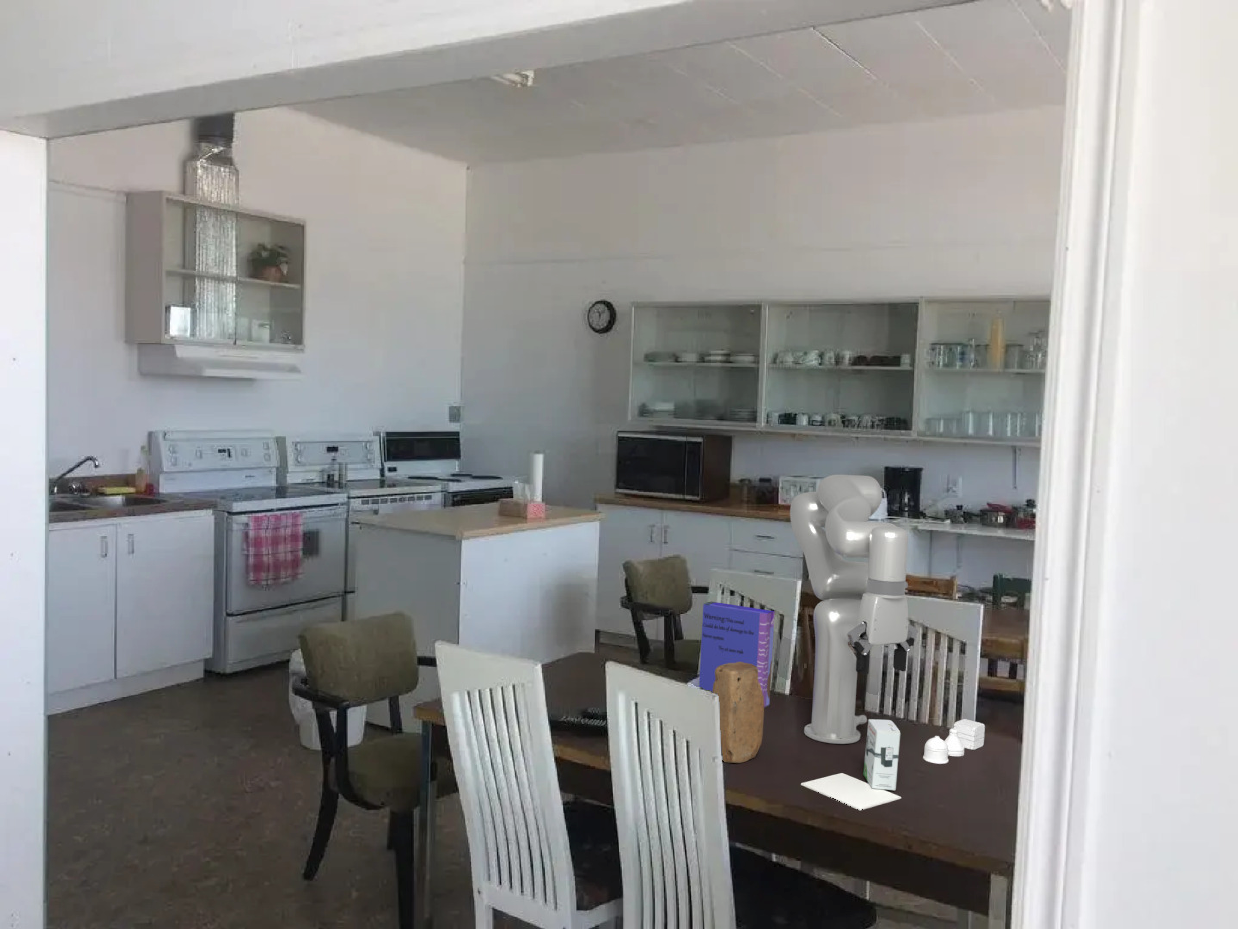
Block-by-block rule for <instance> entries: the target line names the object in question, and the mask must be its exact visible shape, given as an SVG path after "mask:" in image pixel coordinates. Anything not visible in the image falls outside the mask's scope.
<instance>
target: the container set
mask: <svg viewBox="0 0 1238 929" xmlns="http://www.w3.org/2000/svg"><path fill="white" fill-rule="evenodd" d="M985 729H986V726H985V724H984V723H982V722H978V721H973V720H971V719H967V718H963V719H960V720H957V721H956V722H955V721H954V724H953V728H950V729H949V735H947V737H946V738H945V740H944V739H942V738H940V736H939V735H935V736H934V737H931V738H929V739H928V740H926V743H925V744H924V751H923V752H924V754H923V756H922V759H923V760H925V761H926V762H928V763H933V764H936V765H937V764H939V765H941V764H947V763H949V758H948V757H949V756H951V757H963V756H964V755H965V749H968V750H973V751H974V750H977V749H979V748H982V747H983V746H984V744H985Z"/></svg>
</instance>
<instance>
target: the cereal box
mask: <svg viewBox="0 0 1238 929" xmlns="http://www.w3.org/2000/svg"><path fill="white" fill-rule="evenodd" d="M701 624H702V625H701V642H700V643H701V644H700V663H699V681H698V682H699V683H698V688H699V687H702V688H703V689H705V690H710V691H713V684H714V681H715V670H716V668H717V667H718V666H720V665H723V664H727V663H736V662H744V663H749V664H753V665H754V666H756V667H757V668H758V682H759V683H760V686H761V690H762V694H763V697H764V709H766V708H767V707H769V706H770V703H771V702H770V699H771V680H772V668H773V667H772V665H773V664H772V663H773V649H774V648H773V647H774V628H775V611H774V610H770V609H769V610H768V609H762V608H757V607H749V606H743V605H736V604H730V603H723V602H716V601H707V602H705V603H703V607H702V623H701Z"/></svg>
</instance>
